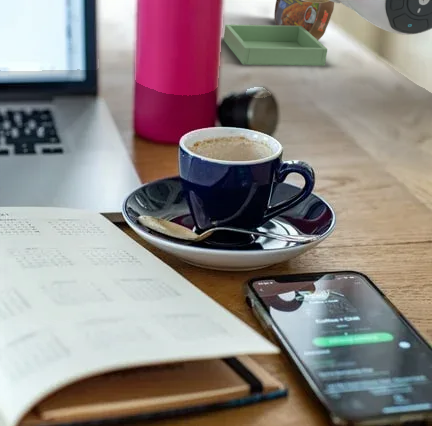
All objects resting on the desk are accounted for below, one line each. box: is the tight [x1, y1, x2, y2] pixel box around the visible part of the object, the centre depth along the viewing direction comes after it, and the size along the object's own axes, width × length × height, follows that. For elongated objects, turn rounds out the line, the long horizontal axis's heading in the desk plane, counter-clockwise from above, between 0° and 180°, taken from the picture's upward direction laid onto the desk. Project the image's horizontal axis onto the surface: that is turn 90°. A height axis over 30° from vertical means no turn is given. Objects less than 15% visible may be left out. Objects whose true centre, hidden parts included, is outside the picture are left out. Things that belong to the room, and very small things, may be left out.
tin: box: [273, 0, 335, 41], centre depth 129 cm, size 15×3×8 cm, turn 10°
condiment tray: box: [223, 24, 328, 67], centre depth 121 cm, size 11×11×3 cm
